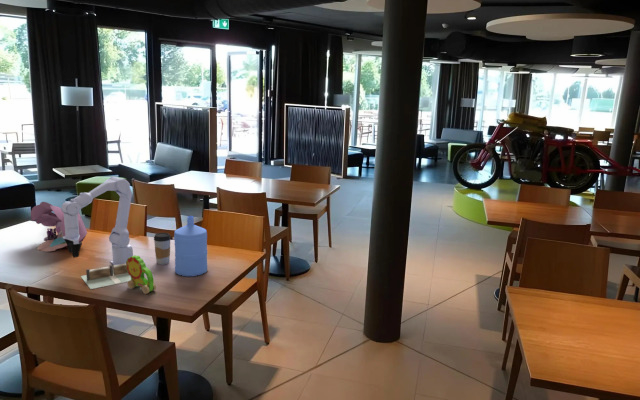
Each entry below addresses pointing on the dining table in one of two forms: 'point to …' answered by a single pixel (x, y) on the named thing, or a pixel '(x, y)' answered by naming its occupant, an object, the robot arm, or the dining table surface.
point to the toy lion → (139, 274)
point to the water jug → (190, 249)
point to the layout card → (107, 280)
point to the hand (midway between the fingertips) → (73, 254)
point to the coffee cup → (162, 247)
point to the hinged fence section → (97, 273)
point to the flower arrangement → (50, 219)
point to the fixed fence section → (118, 269)
